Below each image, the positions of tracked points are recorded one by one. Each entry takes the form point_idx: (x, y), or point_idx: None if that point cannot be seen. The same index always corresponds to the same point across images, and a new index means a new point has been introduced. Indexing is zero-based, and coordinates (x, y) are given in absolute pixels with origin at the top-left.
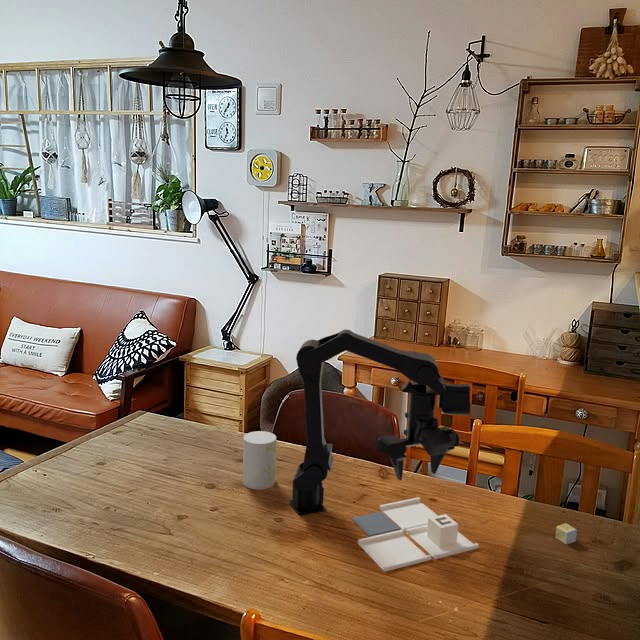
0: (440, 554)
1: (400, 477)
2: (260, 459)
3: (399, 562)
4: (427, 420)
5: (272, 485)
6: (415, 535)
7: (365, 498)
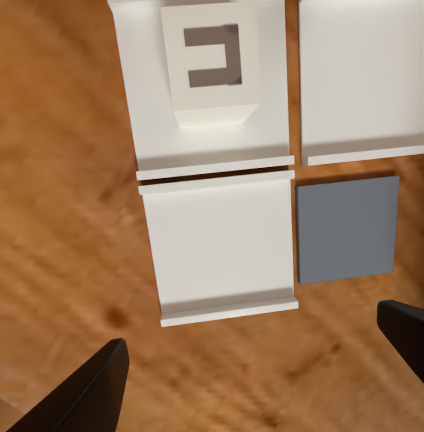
0: None
1: (413, 308)
2: None
3: None
4: None
5: None
6: (272, 140)
7: (299, 358)
